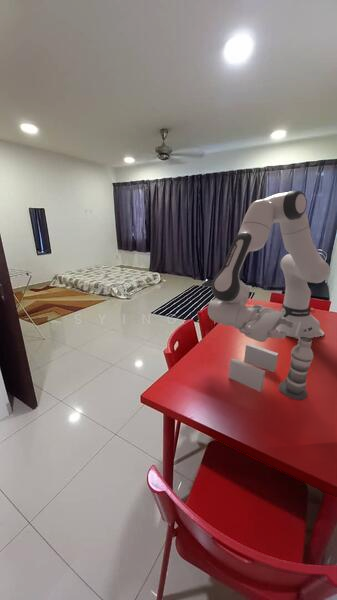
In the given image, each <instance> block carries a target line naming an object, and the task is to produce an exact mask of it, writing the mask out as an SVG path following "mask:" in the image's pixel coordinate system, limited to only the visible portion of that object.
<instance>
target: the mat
mask: <svg viewBox="0 0 337 600" xmlns="http://www.w3.org/2000/svg"><path fill="white" fill-rule="evenodd" d="M278 389H279V391H280V393H281V394H282V395H283V396H285V397H287V398H289V399H290V400H296V401H303V400H306V399H307V398H308V394H309V393H308V391H307V389H306V388H305V390H304V392H303V393H301V394H295V393H292V392H290V391H289V390H288V389H287V388H286V386H285V380H284V381H282V382H280V383H279V384H278Z"/></svg>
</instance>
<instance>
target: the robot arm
mask: <svg viewBox="0 0 337 600" xmlns="http://www.w3.org/2000/svg"><path fill="white" fill-rule="evenodd" d="M307 205H308V200H307V197H306V195H305V193H303V192H302V191H301V190H289V191H288V192H287V191H286V192H279V193H276V194H273V195H270V196H267V197H264V198H260V199H257V200H255V201H253V202H252V203H251V204H250V206H249V207H248V209H247V211H246V213H245V215H244V218H243V219H242V223H241V226H240V229H239V231H238V233H237V235H235V238H234V239H233V242H232V243H231V245H230V247H229V250H228V253H227V255H226V256H225V259H224V262H223V264H222V267H221V269H220V270H219V271H218V272H217V274H216V275H215V276H214V278H213V280H212V282H211V293H212V295H213V296H214V297H215V298H214V299H213V300H211V301H210V302H209V303H208V305H207V315H208V316H209V319H210V320H211V321H212V322H215V323H218V324H221V325H223V326H227V327H234V328H235V329H237V330H239V332H240V333H241V334H243V335H244V336H245V337H247V338H250V340H251V339H252V340H254V341H256V342H259V343H264V342H266V341H267V340H268V339H269V338H270V339H281V340H285V338H286V337H290V338H294V339H297V340H299V337H302V336H304V337H308V338H310V339H314V337H315V338H319V337H320V336H321V337H324V336H325V332H324V331H323V330H322V329H321V324H320V321H319V320H318V319H317V318H316V317H314V315H312V314H314V313H316V312H317V311H316V309H315V308H313V307H310V306H309V305H310V302H311V301H310V300H311V295H312V291H311V288H310V287H309V285H308V283H312V284H319V283H323V282H324V281H326V280H327V278H328V277H329V275H330V273H331V267H330V265H329V263H327V262H326V261H325V260H324V258H322V255H320V252H319V251H318V249H317V247H316V245H315V243H314V241H313V238H312V237H313V236H312V234H311V228H310V223H309V219H308V214H307V213H306V210H307ZM278 223H279V229H280V233H281V238H282V243H283V246H284V250H285V251H286V252H287V253H288V254H285V255H284V256H283V257H282V259H281V260H280V264H279V265H280V269H281V270H282V272H283V276H284V281H285V283H284V284H285V291H284V297H283V303H281V304H282V305H281V309H280V310H278V309H274V308H270V307H263V305H262V304H256V305H252V306H246V305H247V302H248V299H249V297H250V288H249V287H248V285H246V283H244V282H243V281H242V280H241V279H240V273H241V269H242V267H243V264H244V263H245V260H246V257H247V256H248V254H249V253H250V252H257V251H259V250H261V249H263V247H264V246H265V245H266V243H267V241H268V239H269V236H270V233H271V229H272V226H273V224H278Z"/></svg>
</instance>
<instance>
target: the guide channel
mask: <svg viewBox="0 0 337 600" xmlns="http://www.w3.org/2000/svg"><path fill="white" fill-rule="evenodd" d="M278 358H279V353H278V352H275V351H272V350H269V349H267V348H264V347H261V346H258V345H255V344H252V343H249V342H248V343H246V344H245V350H244V357H243V359H244V360H243V361H241V360H239V359H236V358H234V357H232V358H231V359H230V361H229V368H228V378H229V379H230V380H233V381H236V382H238V383H239V384H242V385H244V386H246V387H248V388H250V389H252V390H255V391H257V392H259V393H260V392H262V390H263V388H264V381H265V376H266V375H265V374H266V370H267V371H269V372H272V373H274V372H275V371H276V369H277V363H278ZM258 367H259V368H258ZM261 368H262V369H261ZM263 369H264V370H263Z"/></svg>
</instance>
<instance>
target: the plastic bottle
mask: <svg viewBox="0 0 337 600" xmlns="http://www.w3.org/2000/svg"><path fill="white" fill-rule="evenodd" d="M312 342H313V339H312V338H308V337H304V336H302V337H299V339H298V340H297V344H296V345H294V347H293V348H292V349H291V351H290V355H291V356H290V357H291V358H290V366H289V369H288V373H287V375H286V377H285V379H284V381H285V386H286V388H287V389H288V390H289V391H290V392H292V393H295V394H301V393H303V392H304V390H305V389H306V388H307V377H308V376H307V375H308V371H309V370H310V366H311V363H312V362H313V359H314V352H313V350H312V348H311V347H312Z"/></svg>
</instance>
